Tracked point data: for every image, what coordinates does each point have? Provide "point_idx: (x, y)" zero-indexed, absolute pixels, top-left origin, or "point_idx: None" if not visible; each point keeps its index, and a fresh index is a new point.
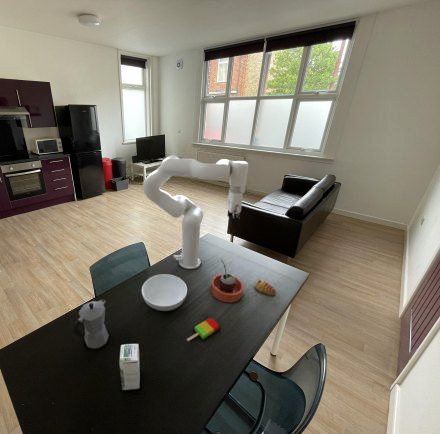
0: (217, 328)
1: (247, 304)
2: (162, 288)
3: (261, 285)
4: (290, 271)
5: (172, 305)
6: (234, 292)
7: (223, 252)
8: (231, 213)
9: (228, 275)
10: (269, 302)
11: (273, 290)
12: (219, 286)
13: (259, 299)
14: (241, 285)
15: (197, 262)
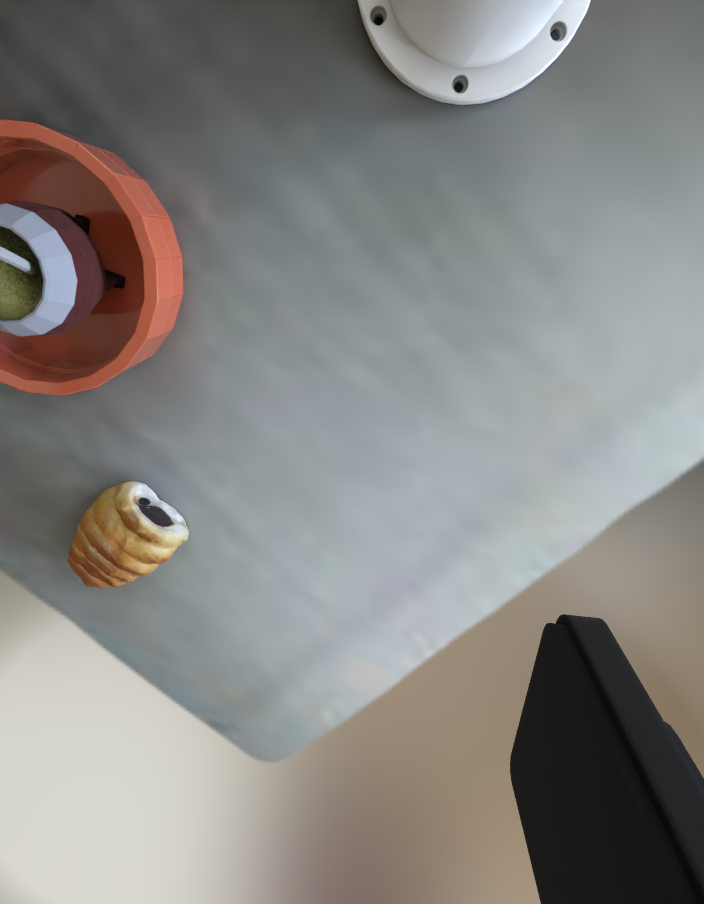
0: None
1: None
2: None
3: (102, 524)
4: (316, 736)
5: None
6: None
7: (598, 385)
8: (562, 820)
9: (49, 290)
10: (22, 514)
11: (82, 576)
12: (113, 220)
13: (38, 468)
14: (29, 380)
15: (433, 56)
